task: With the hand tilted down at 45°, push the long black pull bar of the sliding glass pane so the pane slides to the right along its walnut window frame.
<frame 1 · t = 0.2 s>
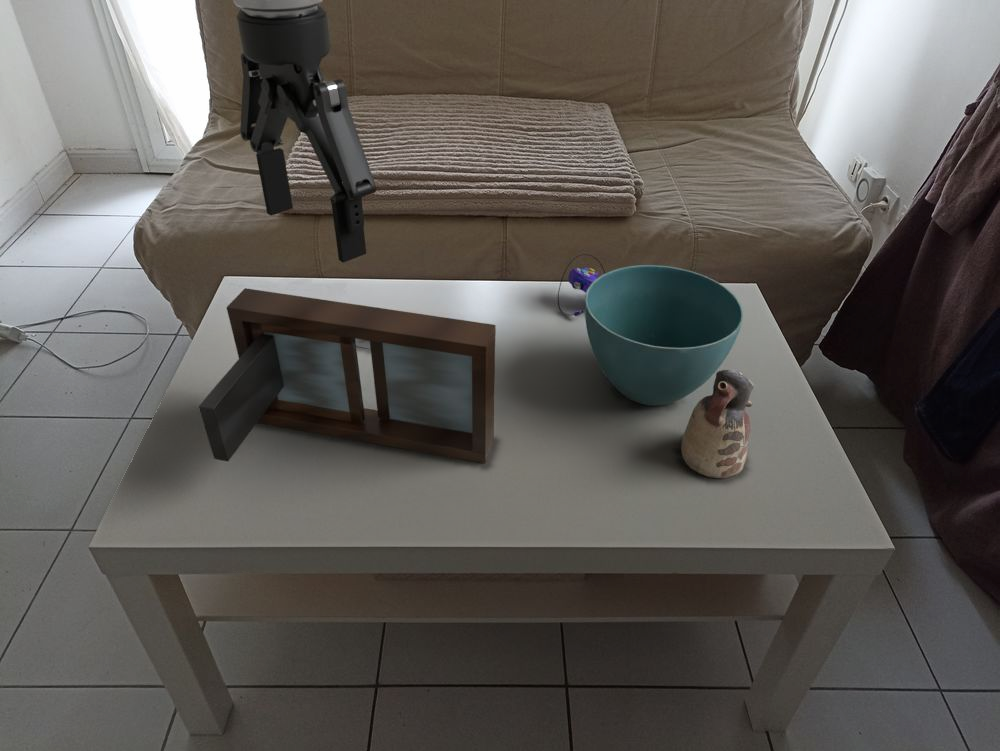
hand: (314, 233, 77), 23 cm above the table, tool pointing down, fingers open, 13 cm apart
dice set: (387, 334, 103), on the table
game controller: (595, 311, 109), on the table
figurine: (711, 458, 85), on the table
window frame: (372, 430, 87), on the table
sliding pane: (283, 406, 78), point 8 cm above the table, slide at 0.0 cm
teal bowl: (648, 385, 95), on the table
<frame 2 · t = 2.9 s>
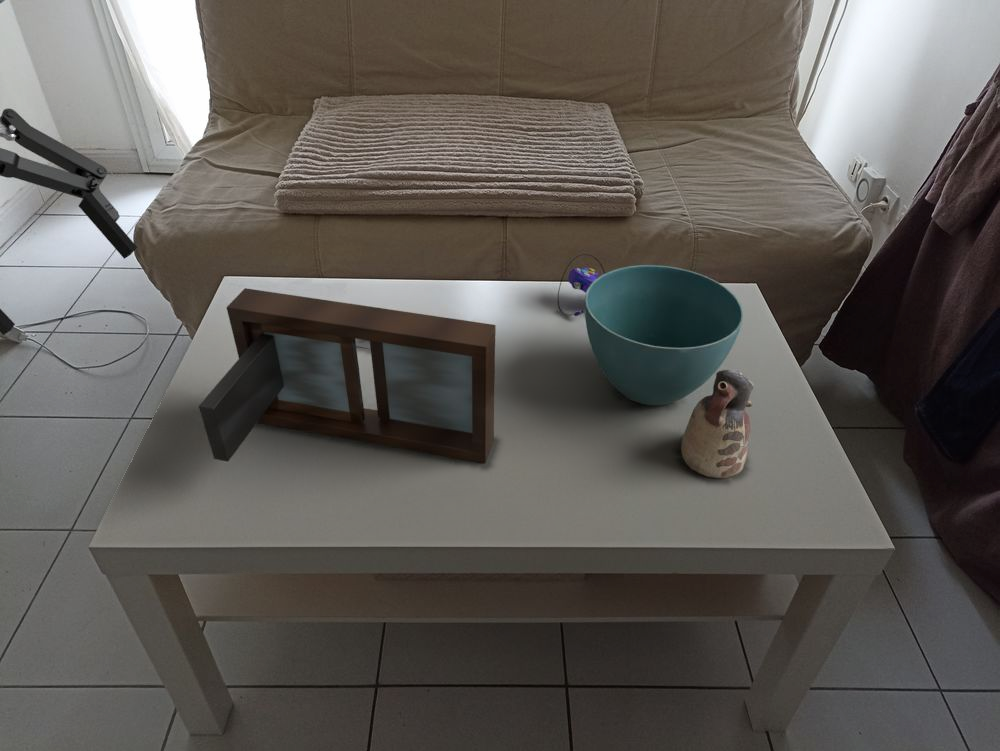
hand: (73, 289, 73), 20 cm above the table, tool tilted 40°, fingers open, 13 cm apart
nothing on the table moved.
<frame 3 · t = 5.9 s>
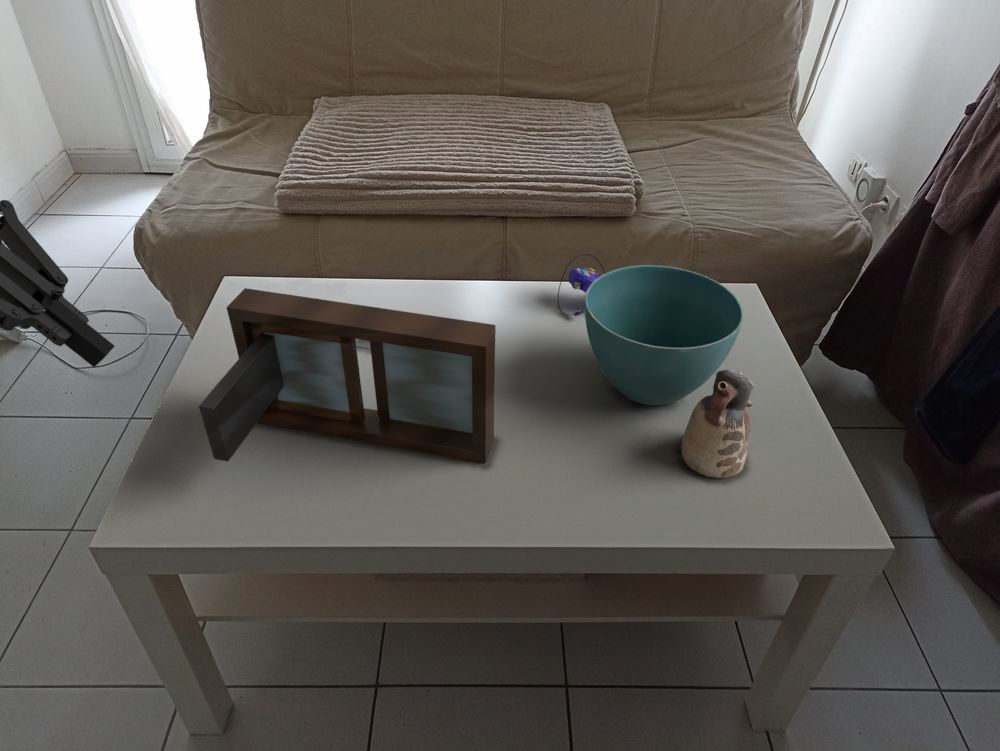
hand: (104, 356, 74), 14 cm above the table, tool tilted 45°, fingers closed
nothing on the table moved.
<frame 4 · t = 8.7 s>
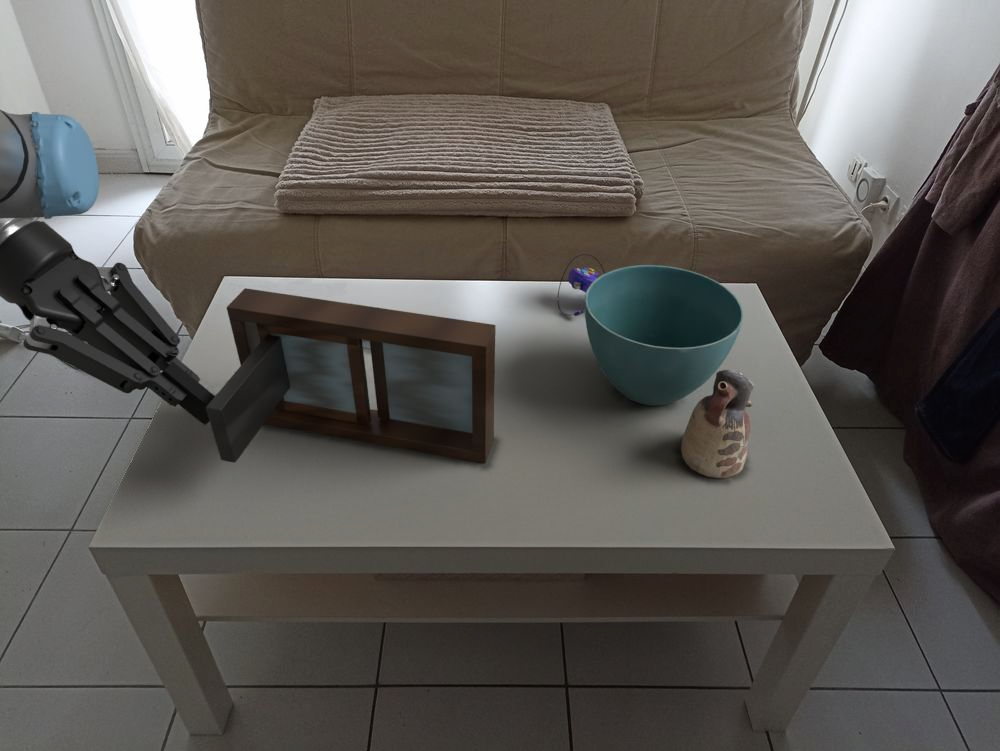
hand: (214, 415, 75), 9 cm above the table, tool tilted 45°, fingers closed
sliding pane: (290, 407, 78), point 8 cm above the table, slide at 0.8 cm, touching gripper
everything else where it was.
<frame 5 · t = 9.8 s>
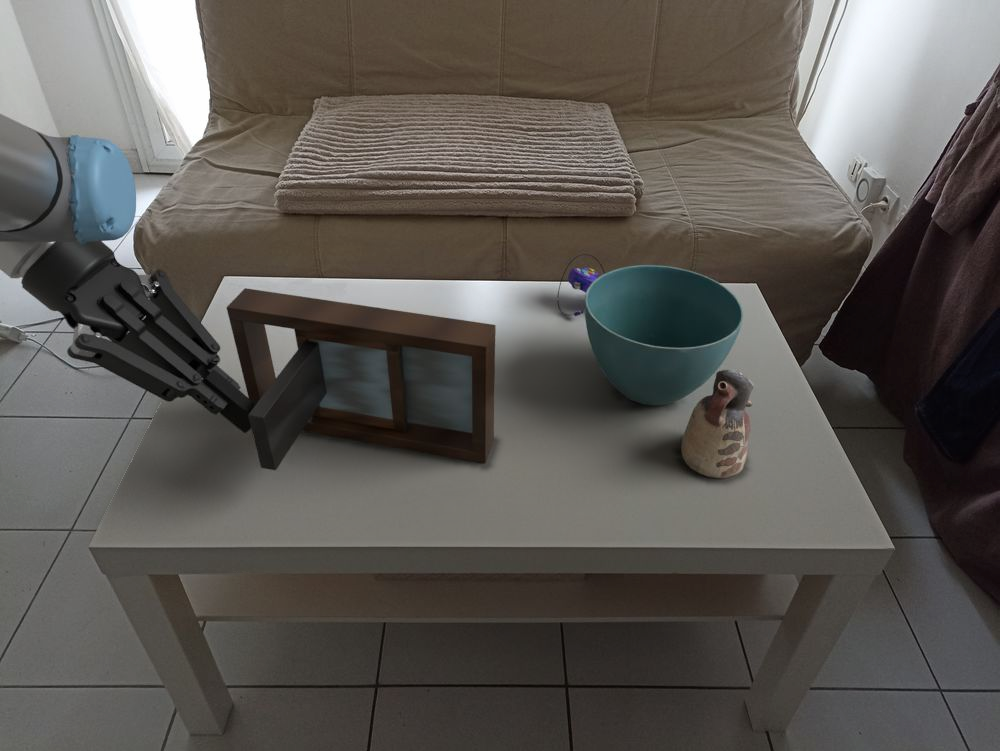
hand: (255, 423, 75), 9 cm above the table, tool tilted 45°, fingers closed
sliding pane: (329, 414, 77), point 8 cm above the table, slide at 5.1 cm, touching gripper
everything else where it was.
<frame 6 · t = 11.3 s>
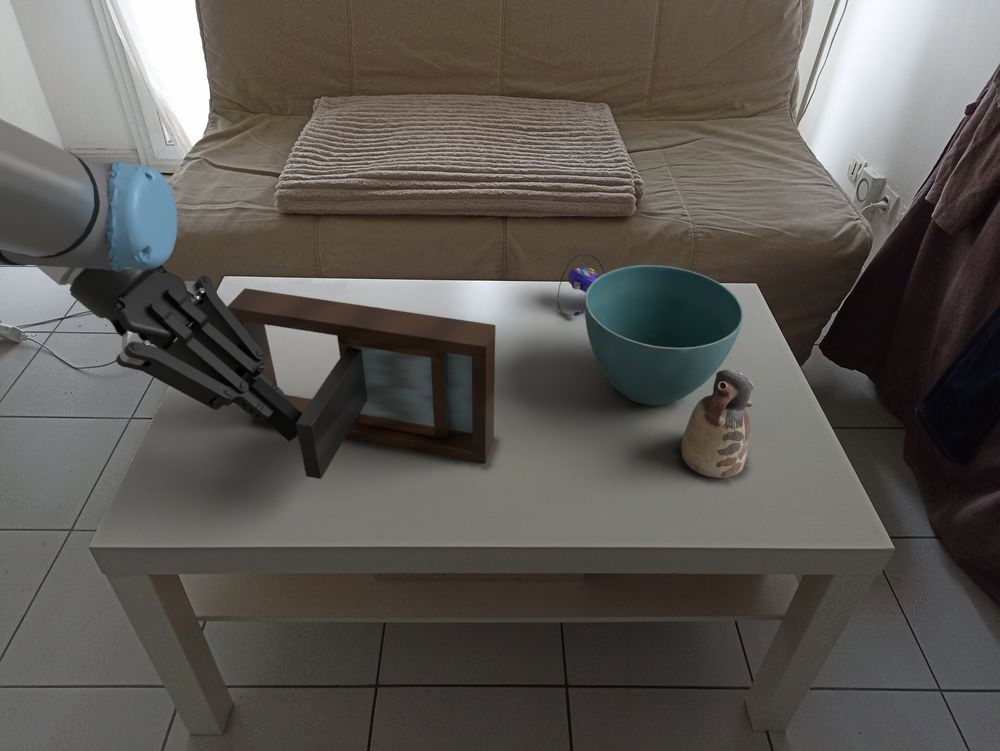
hand: (300, 431, 74), 9 cm above the table, tool tilted 45°, fingers closed
sliding pane: (374, 422, 77), point 8 cm above the table, slide at 10.0 cm, touching gripper
everything else where it was.
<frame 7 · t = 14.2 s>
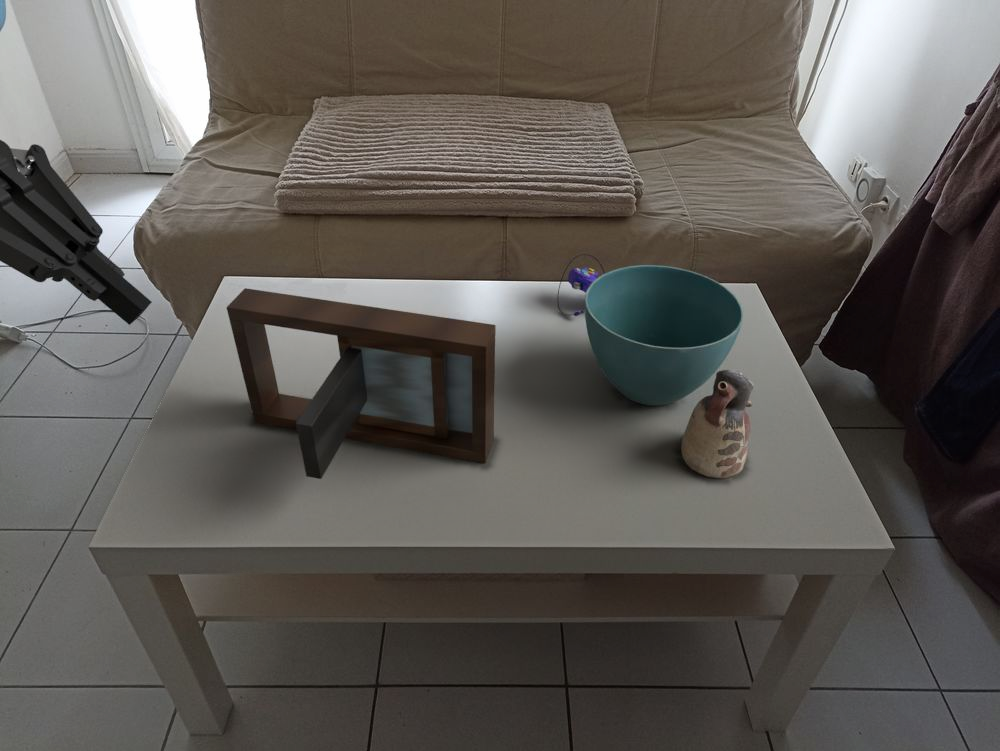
hand: (140, 313, 69), 21 cm above the table, tool tilted 45°, fingers closed
sliding pane: (374, 422, 77), point 8 cm above the table, slide at 10.0 cm
everything else where it was.
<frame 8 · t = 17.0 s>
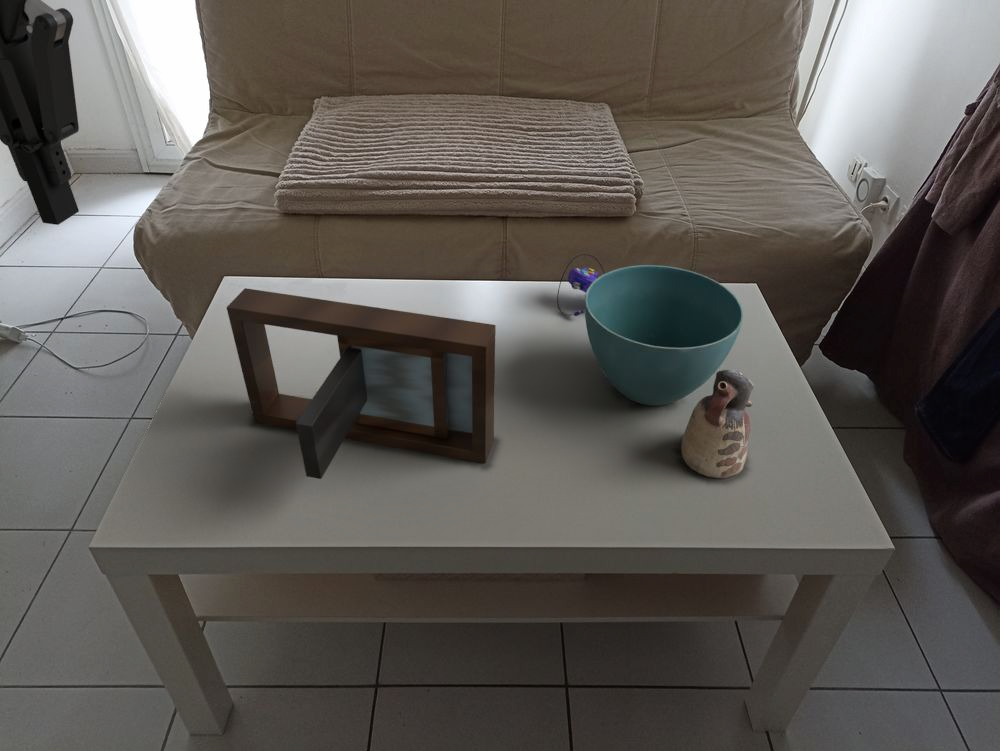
hand: (61, 216, 65), 29 cm above the table, tool pointing down, fingers closed
nothing on the table moved.
at the end: sliding pane slide at 10.0 cm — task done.
